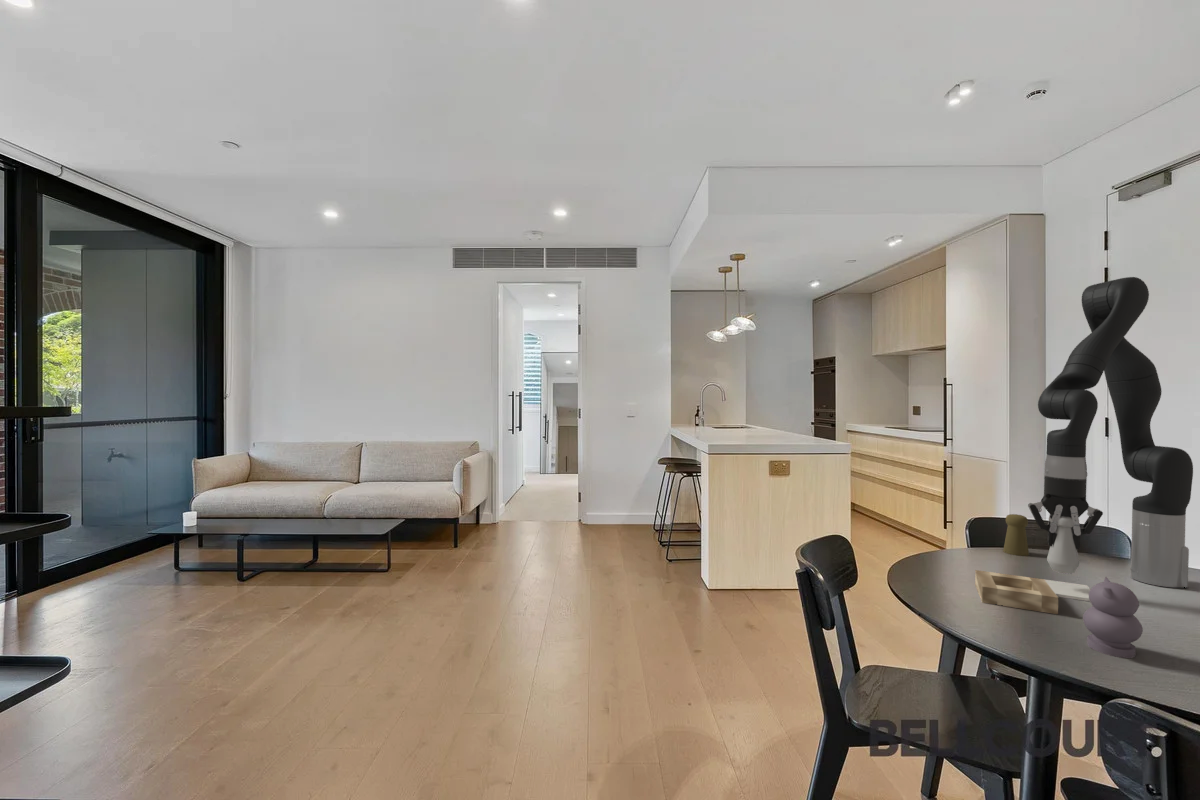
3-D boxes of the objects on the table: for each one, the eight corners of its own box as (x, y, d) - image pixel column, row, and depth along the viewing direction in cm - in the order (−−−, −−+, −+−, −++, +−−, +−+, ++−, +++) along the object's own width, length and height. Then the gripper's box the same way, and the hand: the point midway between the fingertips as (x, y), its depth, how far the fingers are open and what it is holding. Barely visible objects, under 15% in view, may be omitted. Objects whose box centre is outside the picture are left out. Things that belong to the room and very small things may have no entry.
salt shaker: (1067, 567, 132) (1068, 513, 131) (1085, 575, 126) (1087, 518, 126) (1040, 566, 132) (1042, 512, 132) (1058, 574, 126) (1059, 517, 126)
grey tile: (1086, 587, 131) (1086, 585, 131) (1101, 603, 121) (1101, 600, 121) (1028, 579, 136) (1028, 577, 136) (1038, 593, 127) (1038, 591, 127)
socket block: (1043, 594, 126) (1044, 579, 126) (1057, 614, 115) (1058, 597, 115) (975, 584, 132) (975, 570, 132) (982, 602, 121) (982, 586, 121)
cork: (1010, 555, 157) (1011, 516, 157) (998, 549, 163) (999, 512, 163) (1034, 556, 156) (1034, 517, 156) (1021, 550, 162) (1022, 513, 162)
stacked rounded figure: (1142, 665, 93) (1144, 594, 93) (1081, 650, 99) (1082, 583, 98) (1141, 648, 99) (1143, 582, 99) (1083, 635, 105) (1084, 572, 105)
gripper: (1099, 475, 129) (1097, 550, 129) (1024, 471, 135) (1022, 541, 136) (1110, 480, 122) (1108, 558, 122) (1030, 474, 129) (1028, 548, 129)
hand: (1063, 549), depth 129 cm, fingers closed on salt shaker, 3 cm apart
